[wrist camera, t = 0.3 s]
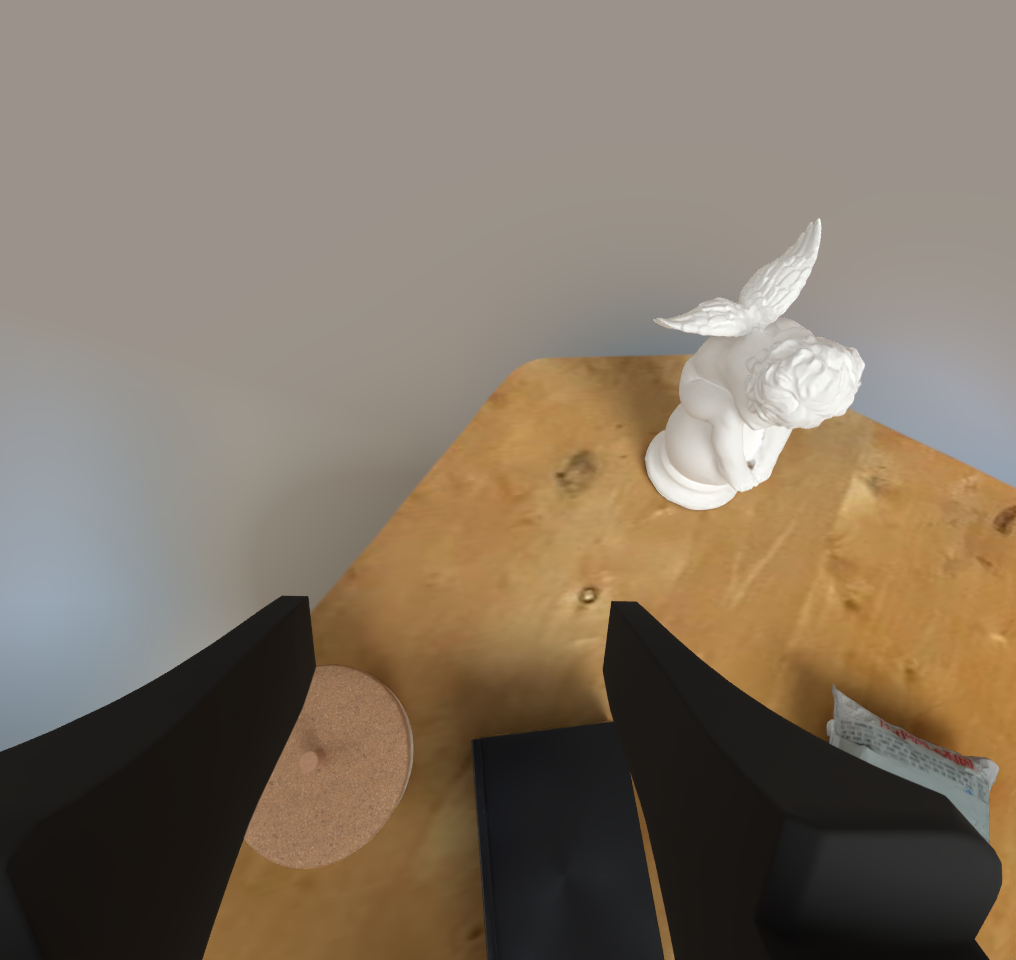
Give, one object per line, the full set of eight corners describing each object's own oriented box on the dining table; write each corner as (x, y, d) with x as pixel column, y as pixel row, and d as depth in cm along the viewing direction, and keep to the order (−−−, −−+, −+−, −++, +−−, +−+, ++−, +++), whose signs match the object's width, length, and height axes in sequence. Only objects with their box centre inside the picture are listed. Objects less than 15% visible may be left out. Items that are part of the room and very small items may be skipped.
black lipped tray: (657, 1002, 32) (687, 1056, 27) (497, 1027, 32) (496, 1087, 27) (608, 720, 39) (624, 720, 34) (475, 736, 38) (471, 739, 33)
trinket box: (269, 698, 39) (205, 691, 31) (409, 656, 41) (385, 639, 32) (285, 863, 35) (215, 909, 27) (440, 810, 36) (422, 838, 28)
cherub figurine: (736, 534, 45) (921, 386, 25) (595, 505, 46) (667, 341, 26) (740, 417, 50) (897, 217, 30) (613, 393, 51) (684, 185, 31)
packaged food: (814, 685, 40) (853, 682, 36) (976, 763, 38) (1039, 770, 34) (786, 804, 37) (826, 816, 32) (961, 895, 35) (1030, 922, 30)
